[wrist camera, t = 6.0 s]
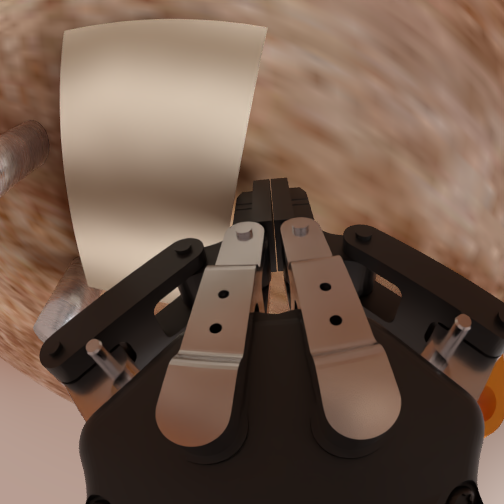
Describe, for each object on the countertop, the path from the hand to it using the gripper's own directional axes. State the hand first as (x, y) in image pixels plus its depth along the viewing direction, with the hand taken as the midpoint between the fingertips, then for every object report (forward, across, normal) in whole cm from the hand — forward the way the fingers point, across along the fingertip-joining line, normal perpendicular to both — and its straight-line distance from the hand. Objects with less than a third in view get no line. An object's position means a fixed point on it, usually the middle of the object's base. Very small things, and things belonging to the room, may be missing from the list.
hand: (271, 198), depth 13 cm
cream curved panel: (+2, +5, -2) cm, 6 cm away
